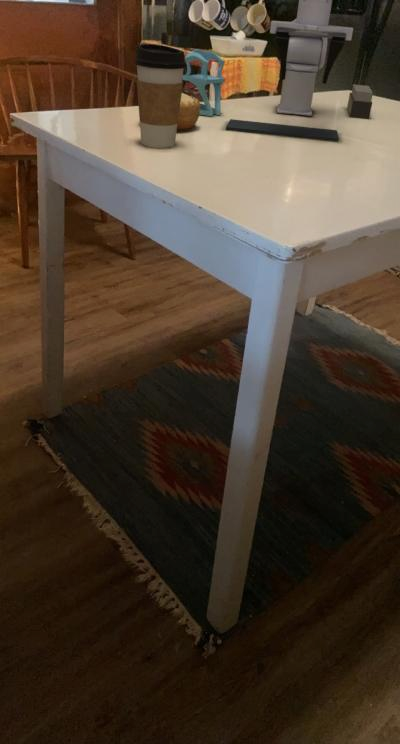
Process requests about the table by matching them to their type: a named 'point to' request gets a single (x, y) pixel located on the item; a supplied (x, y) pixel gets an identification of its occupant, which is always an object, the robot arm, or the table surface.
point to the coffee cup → (159, 93)
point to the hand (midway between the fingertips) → (303, 81)
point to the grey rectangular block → (360, 102)
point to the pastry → (188, 112)
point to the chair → (205, 80)
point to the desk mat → (283, 130)
